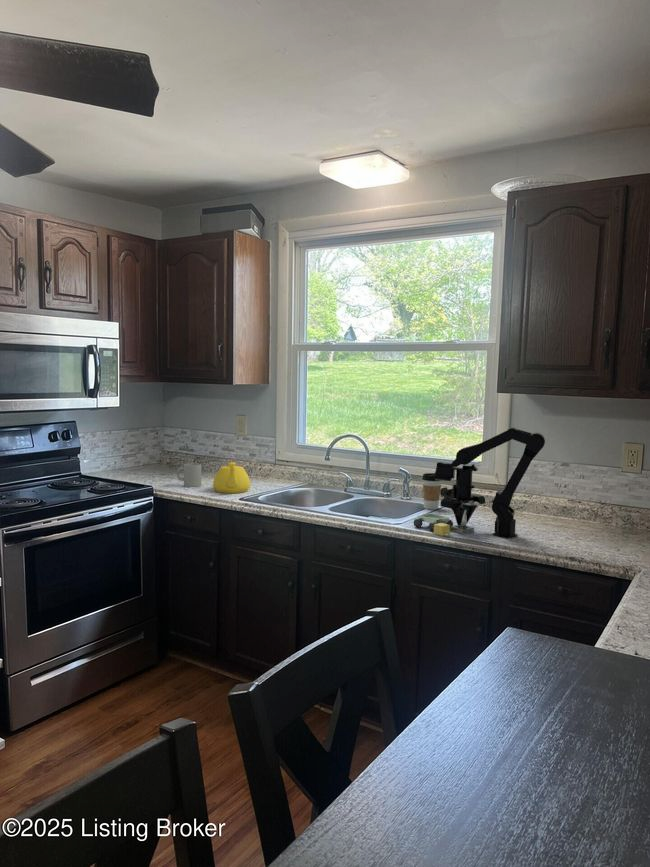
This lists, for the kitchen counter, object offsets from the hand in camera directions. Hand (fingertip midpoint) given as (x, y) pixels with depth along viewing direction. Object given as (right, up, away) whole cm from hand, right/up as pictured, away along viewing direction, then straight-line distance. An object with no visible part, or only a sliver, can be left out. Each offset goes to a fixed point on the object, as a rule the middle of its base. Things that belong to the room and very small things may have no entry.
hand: (462, 524), depth 232 cm
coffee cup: (-5, +1, +41) cm, 41 cm away
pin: (0, -3, 0) cm, 2 cm away
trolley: (-10, -2, +5) cm, 11 cm away
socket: (0, -3, 0) cm, 2 cm away
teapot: (-95, +5, +71) cm, 119 cm away
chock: (-8, -3, -4) cm, 10 cm away
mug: (-118, +7, +83) cm, 144 cm away
